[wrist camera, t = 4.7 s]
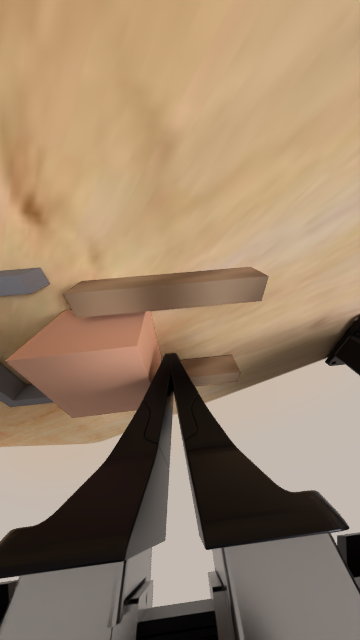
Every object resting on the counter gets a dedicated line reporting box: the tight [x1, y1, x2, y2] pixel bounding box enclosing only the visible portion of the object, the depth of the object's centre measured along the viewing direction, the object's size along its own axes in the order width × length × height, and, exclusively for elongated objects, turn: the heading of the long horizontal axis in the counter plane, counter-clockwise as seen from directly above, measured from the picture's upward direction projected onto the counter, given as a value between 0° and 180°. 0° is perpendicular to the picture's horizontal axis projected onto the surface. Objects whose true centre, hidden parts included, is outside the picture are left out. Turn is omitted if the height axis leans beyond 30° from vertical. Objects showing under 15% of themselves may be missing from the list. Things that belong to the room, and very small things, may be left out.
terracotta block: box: [5, 310, 161, 418], centre depth 10 cm, size 6×6×4 cm
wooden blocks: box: [63, 267, 269, 386], centre depth 11 cm, size 11×10×2 cm
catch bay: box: [0, 268, 53, 407], centre depth 11 cm, size 9×12×2 cm
